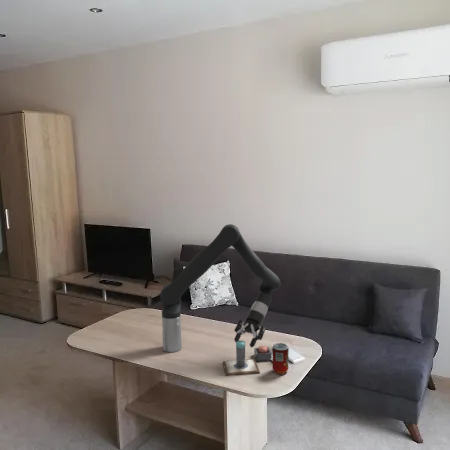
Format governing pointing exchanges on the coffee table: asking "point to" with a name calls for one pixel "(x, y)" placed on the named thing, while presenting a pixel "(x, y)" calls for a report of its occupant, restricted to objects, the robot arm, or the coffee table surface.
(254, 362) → the board
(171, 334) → the robot arm
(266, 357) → the button housing
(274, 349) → the soda can
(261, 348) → the button
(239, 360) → the marker
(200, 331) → the coffee table surface
